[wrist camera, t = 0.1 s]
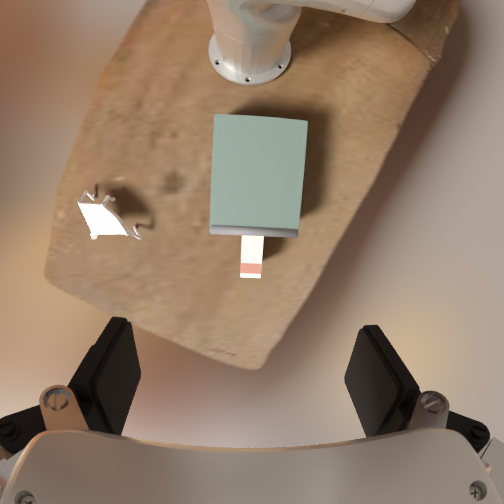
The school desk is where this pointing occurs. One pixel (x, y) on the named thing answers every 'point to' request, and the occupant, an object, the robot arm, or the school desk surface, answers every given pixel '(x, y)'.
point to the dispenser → (257, 175)
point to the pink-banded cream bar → (251, 256)
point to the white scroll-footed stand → (103, 218)
